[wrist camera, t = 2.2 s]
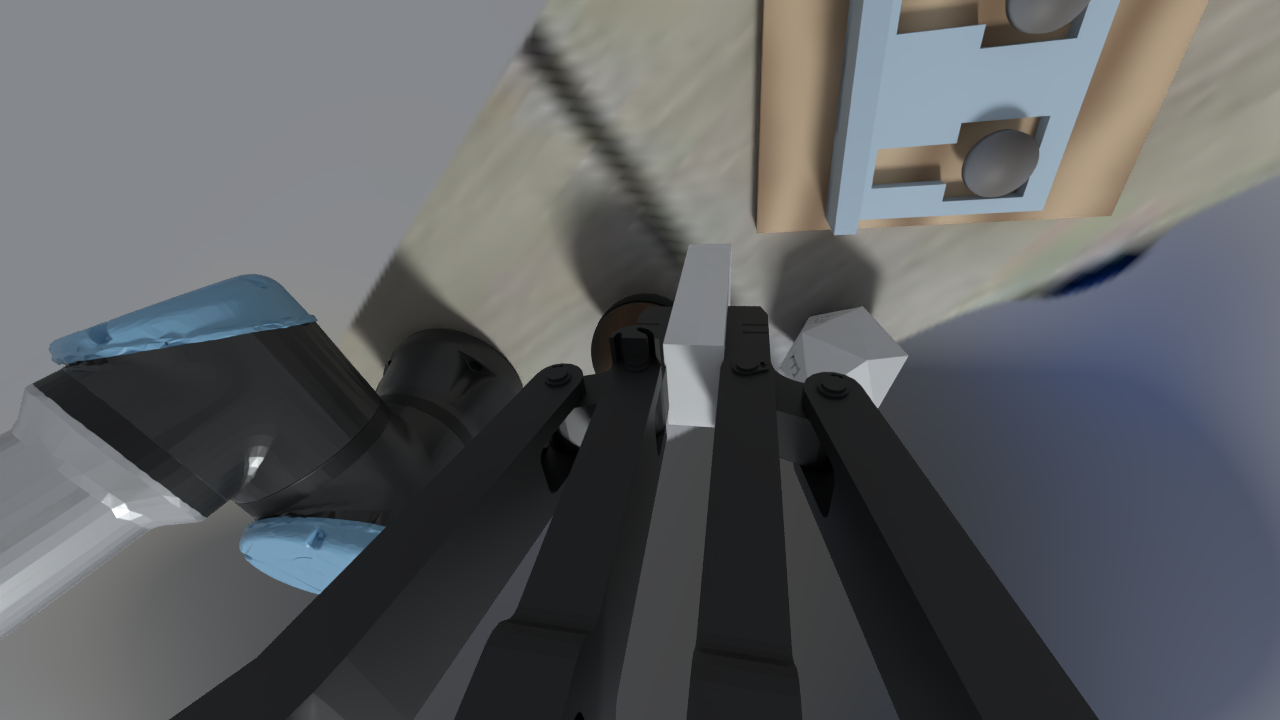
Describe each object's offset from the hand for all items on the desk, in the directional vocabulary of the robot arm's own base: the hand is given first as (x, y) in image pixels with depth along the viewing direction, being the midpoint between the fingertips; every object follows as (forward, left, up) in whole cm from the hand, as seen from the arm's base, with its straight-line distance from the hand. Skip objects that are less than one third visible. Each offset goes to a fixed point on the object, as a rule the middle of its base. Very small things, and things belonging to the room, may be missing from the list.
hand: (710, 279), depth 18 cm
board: (+15, +3, -22) cm, 27 cm away
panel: (+15, +3, -21) cm, 26 cm away
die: (+10, -17, -23) cm, 30 cm away
